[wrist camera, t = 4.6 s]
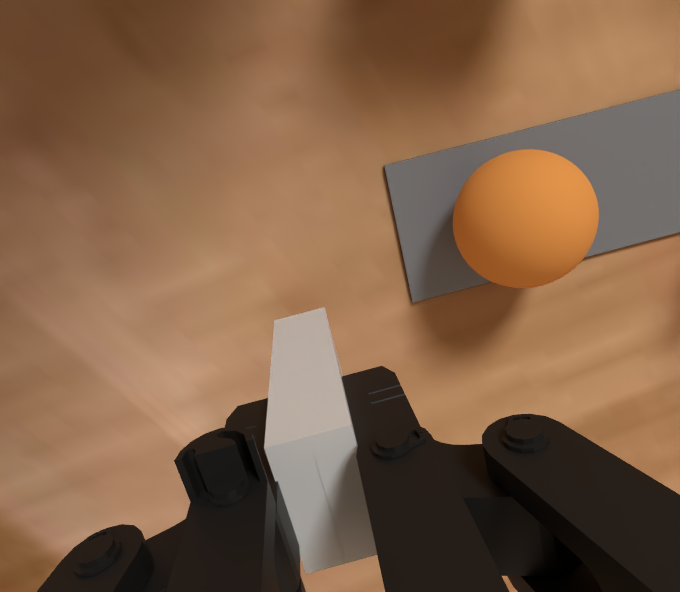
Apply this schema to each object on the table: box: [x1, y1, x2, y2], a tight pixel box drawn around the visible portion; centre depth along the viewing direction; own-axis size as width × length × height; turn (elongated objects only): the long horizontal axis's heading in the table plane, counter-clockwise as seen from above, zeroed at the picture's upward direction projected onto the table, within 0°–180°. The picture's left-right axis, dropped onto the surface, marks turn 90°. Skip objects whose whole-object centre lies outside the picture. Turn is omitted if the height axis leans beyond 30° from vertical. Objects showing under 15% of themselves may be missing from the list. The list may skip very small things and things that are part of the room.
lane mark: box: [384, 90, 680, 303], centre depth 25 cm, size 16×7×1 cm, turn 104°
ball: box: [453, 149, 599, 288], centre depth 22 cm, size 6×6×6 cm
